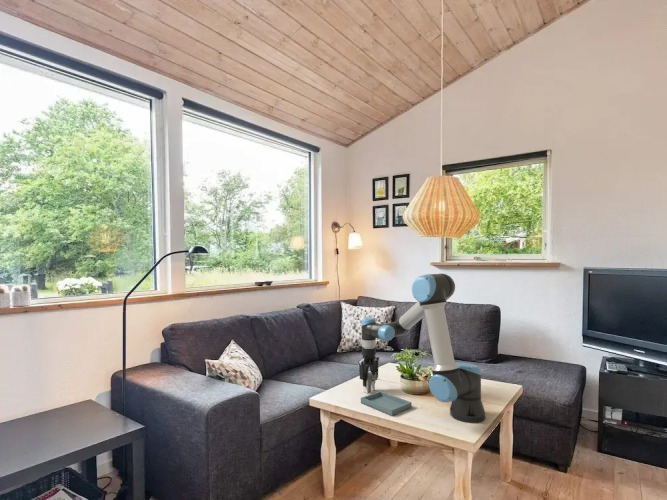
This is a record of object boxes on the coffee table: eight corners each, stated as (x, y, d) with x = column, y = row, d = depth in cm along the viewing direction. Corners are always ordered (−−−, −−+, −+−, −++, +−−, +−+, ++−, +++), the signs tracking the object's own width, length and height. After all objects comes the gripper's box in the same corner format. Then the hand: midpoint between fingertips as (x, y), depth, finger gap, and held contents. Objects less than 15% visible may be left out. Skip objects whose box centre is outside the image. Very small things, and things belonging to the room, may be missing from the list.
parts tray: (411, 407, 182) (411, 402, 182) (391, 416, 173) (391, 410, 173) (380, 395, 197) (380, 390, 197) (360, 403, 188) (360, 397, 188)
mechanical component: (376, 394, 199) (376, 375, 199) (359, 390, 205) (359, 371, 205) (379, 392, 201) (378, 373, 201) (362, 388, 207) (362, 370, 207)
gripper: (374, 343, 212) (375, 385, 212) (352, 348, 201) (352, 393, 201) (385, 345, 206) (385, 389, 206) (362, 351, 195) (362, 397, 195)
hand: (369, 391), depth 203 cm, fingers open, 4 cm apart
